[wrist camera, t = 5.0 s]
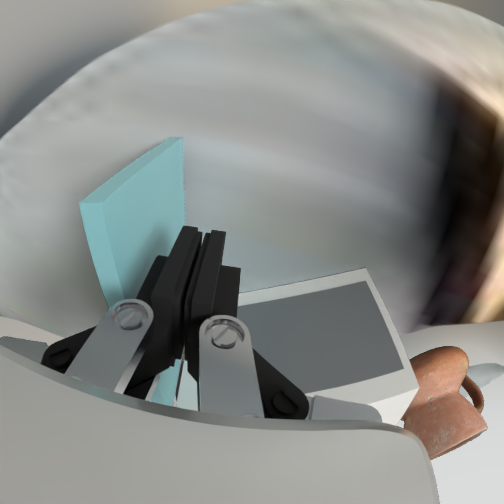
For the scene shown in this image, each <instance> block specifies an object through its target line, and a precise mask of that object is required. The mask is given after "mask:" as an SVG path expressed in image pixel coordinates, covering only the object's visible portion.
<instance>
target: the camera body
mask: <svg viewBox="0 0 504 504" xmlns="http://www.w3.org/2000/svg"><path fill="white" fill-rule="evenodd" d="M237 319H239V320H240V321H242V322H243V323H244V324H245V325H246V326H247V328H248V330H249V333H250V338H251V343H252V348H253V349H254V350H256V351H257V352H258V353H259V354H260V355H261V356H262V357H263V358H264V359H265V360H267V361H268V362H269V363H270V364H271V365H272V366H273V367H275V368H276V369H277V370H278V371H279V372H280V373H281V374H283V375H284V376H285V377H286V378H287V379H288V380H290V381H291V382H292V383H293V384H294V385H295V386H297V387H298V388H299V389H300V390H301V391H302V392H303V393H304V394H305V395H306V396H310V397H314V396H315V395H318V396H323V397H328V398H333V399H338V400H343V401H349V402H355V403H361V404H367V405H370V406H373V407H374V408H375V409H376V410H378V412H379V413H380V415H381V417H382V422H383V423H388V424H392V425H395V426H396V425H397V424H398V422H399V421H400V419H401V418H402V416H403V415H404V413H405V411H406V410H407V408H408V407H409V405H410V403H411V402H412V400H413V398H414V396H415V395H416V393H417V391H418V389H419V388H420V387H419V384H418V382H417V379H416V376H415V374H414V371H413V369H412V366H411V364H410V361H409V359H408V356H407V354H406V352H405V349H404V347H403V345H402V342H401V340H400V338H399V335H398V333H397V331H396V329H395V326H394V324H393V322H392V320H391V318H390V315H389V313H388V311H387V309H386V307H385V305H384V303H383V301H382V299H381V297H380V295H379V293H378V291H377V289H376V287H375V285H374V283H373V281H372V279H371V277H370V275H369V273H368V271H367V269H366V268H363V269H359V270H354V271H350V272H345V273H341V274H336V275H331V276H327V277H322V278H317V279H312V280H308V281H303V282H298V283H293V284H288V285H282V286H277V287H272V288H267V289H261V290H256V291H251V292H245V293H240V294H239V296H238V309H237ZM176 400H177V404H176V407H178V408H183V409H189V410H195V411H198V410H197V382H196V381H195V380H194V378H193V377H192V376H191V375H190V374H189V373H188V371H187V361H185V360H184V361H183V362H182V363H181V366H180V371H179V376H178V382H177V387H176Z"/></svg>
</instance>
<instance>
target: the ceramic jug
mask: <svg viewBox="0 0 504 504" xmlns="http://www.w3.org/2000/svg"><path fill="white" fill-rule="evenodd" d="M409 361H410V364H411V366H412V369H413V371H414V374H415V376H416V379H417V382H418V384H419V387H420V388H419V389H418V391H417V393H416V395H415V396H414V398H413V400H412V402H411V403H410V405H409V407H408V408H407V410H406V411H405V413H404V415H403V416H402V418H401V419H400V420H402V421H404V429H406V430H408V431H410V432H412V433H413V434H415V435H416V436H417V437H418V438H419V439H420V440H421V441H422V443H423V445H424V446H425V448H426V451H427V453H428V456H429V458H430V461H431V460H433V459H434V458H437V457H440V456H442V455H444V454H446V453H448V452H450V451H452V450H454V449H456V448H459V447H460V446H462V445H464V444H466V443H467V442H469V441H472V440H473V439H475V438H476V437H478V436H479V435H480V434H481V433H482V432H484V431H486V430H487V428H488V426H487V424H486V422H485V420H484V419H483V417H482V416H481V412H482V410H483V407H484V400H483V395H482V393H481V391H480V389H479V387H478V386H477V385H476V384H475V383H474V382H473V381H472V380H471V379H470V378H469V377H468V376H467V375H466V374H467V371H468V366H469V361H468V357H467V355H466V353H465V352H464V351H463V350H462V349H460V348H458V347H453V346H443V347H439V348H435V349H431V350H429V351H426V352H424V353H421V354H419V355H417V356H415V357H413V358H412V359H410V360H409ZM461 385H462V386H463V388H464V389H465V390H466V391H467V392H468V394H469V396H470V397H471V398H472V400H473V404H474V406H473V405H472V404H471V403H470V402H469V401H468V400H467V399H466V398H465V397H463V396H462V395H461V394H460V393H459V389H460V387H461Z"/></svg>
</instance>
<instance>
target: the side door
mask: <svg viewBox="0 0 504 504" xmlns="http://www.w3.org/2000/svg"><path fill="white" fill-rule="evenodd" d="M79 206H80V211H81V216H82V220H83V224H84V229H85V233H86V237H87V241H88V245H89V248H90V252H91V256H92V259H93V263H94V266H95V269H96V273H97V276H98V279H99V282H100V285H101V288H102V291H103V294H104V297H105V300H106V302H107V305H108V308H109V309H110V308H111V307H112V306H113V305H114V304H115V303H117V302H119V301H121V300H125V299H136V297H137V295H138V292H139V290H140V288H141V286H142V284H143V282H144V280H145V278H146V276H147V274H148V272H149V270H150V268H151V266H152V264H153V262H154V260H155V258H156V257H157V256H158V255H162V256H169V254H170V252H171V250H172V248H173V245H174V243H175V241H176V239H177V237H178V235H179V233H180V231H181V229H182V227H183V226H186V219H185V197H184V160H183V137H170V138H168V139H167V140H165V141H164V142H162V143H160V144H159V145H157V146H156V147H154V148H153V149H151V150H149V151H148V152H146V153H145V154H143V155H142V156H140V157H139V158H137V159H136V160H135V161H133V162H132V163H130V164H129V165H127V166H126V167H125V168H123V169H122V170H120V171H119V172H118V173H116V174H115V175H114V176H112V177H111V178H110V179H108V180H107V181H106V182H104V183H103V184H102V185H101V186H99V187H98V188H97V189H95V190H94V191H93V192H92V193H90V194H89V195H88V196H87V197H86V198H84V199H83V200H82V201H81V202H80V203H79ZM184 346H185V345H184ZM183 351H184V349H183ZM182 356H183V354H182ZM181 361H182V358H181V360H179V359H176V360H175V365H174V367H172V366H170V367H169V368H168V369H166V370H165V371H163V372H161V376H160V379H159V382H158V384H157V386H156V388H155V391H154V393H153V395H152V397H151V402H154V403H159V404H163V405H168V406H173V404H174V397H175V393H176V387H177V382H178V376H179V371H180V366H181Z"/></svg>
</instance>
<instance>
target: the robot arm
mask: <svg viewBox="0 0 504 504" xmlns="http://www.w3.org/2000/svg"><path fill="white" fill-rule="evenodd" d="M225 236H226V232H223V231H217V230H212V231H211V233H206V234H205V237H204V240H203V243H202V232H199V231H198V228H197V227H191V226H183V227H182V229H181V231H180V233H179V235H178V237H177V239H176V241H175V243H174V245H173V248H172V250H171V252H170V254H169V256H162V255H158V256H157V257H156V258H155V260H154V262H153V264H152V266H151V268H150V270H149V272H148V274H147V276H146V278H145V280H144V282H143V284H142V286H141V288H140V290H139V292H138V295H137V297H136V299H125V300H121V301H119V302H117V303H115V304H114V305H113V306H112V307H111V308H110V309H109V310H108V312H107V313H106V314H105V316H104V317H103V318H102V320H101V321H100V322H99V324H98V325H97V326H95V327H93V328H90V329H88V330H85V331H83V332H80V333H78V334H75V335H73V336H70V337H68V338H65V339H63V340H60V341H58V342H55V343H54V344H52V345H50V346H48V345H47V344H46V343H44V342H37V341H31V340H25V339H19V338H13V337H1V338H0V504H440V502H439V495H438V490H437V485H436V479H435V475H434V471H433V468H432V465H431V461H430V458H429V456H428V453H427V451H426V448H425V446H424V445H423V443H422V441H421V440H420V439H419V438H418V437H417V436H416V435H415V434H413V433H412V432H410V431H408V430H406V429H404V428H401V427H398V426H395V425H392V424H388V423H383V422H382V417H381V415H380V413H379V412H378V410H376V409H375V408H374V407H373V406H370V405H367V404H361V403H355V402H349V401H343V400H338V399H333V398H328V397H323V396H318V395H315V396H314V397H310V396H306V395H305V394H304V393H303V392H302V391H301V390H300V389H299V388H298V387H297V386H295V385H294V384H293V383H292V382H291V381H290V380H288V379H287V378H286V377H285V376H284V375H283V374H281V373H280V372H279V371H278V370H277V369H276V368H275V367H273V366H272V365H271V364H270V363H269V362H268V361H267V360H265V359H264V358H263V357H262V356H261V355H260V354H259V353H258V352H257V351H256V350H254V349H253V348H252V343H251V338H250V333H249V330H248V328H247V326H246V325H245V324H244V323H243V322H242V321H240V320H239V319H237V309H238V296H239V284H240V271H241V268H236V267H230V266H223V265H221V264H222V257H223V250H224V243H225ZM201 244H202V246H201ZM184 345H185V361H187V371H188V373H189V374H190V375H191V376H192V377H193V378H194V380H195V381H196V382H197V410H198V411H195V410H189V409H183V408H178V407H173V406H168V405H163V404H159V403H154V402H150V400H151V397H152V395H153V393H154V391H155V388H156V386H157V384H158V382H159V379H160V376H161V372H163V371H165V370H166V369H168V368H169V367H170V366H172V367H174V365H175V360H176V359H179V360H181V358H182V354H183V349H184Z"/></svg>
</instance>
